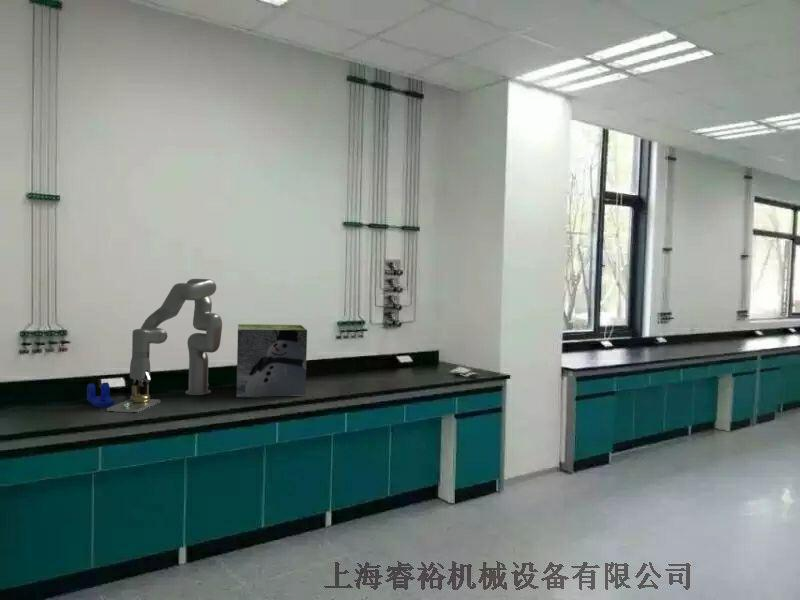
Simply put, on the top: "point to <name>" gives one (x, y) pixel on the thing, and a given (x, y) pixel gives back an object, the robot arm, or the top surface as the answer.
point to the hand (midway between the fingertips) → (140, 393)
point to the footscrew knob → (137, 397)
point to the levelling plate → (132, 406)
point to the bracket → (100, 400)
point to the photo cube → (271, 360)
